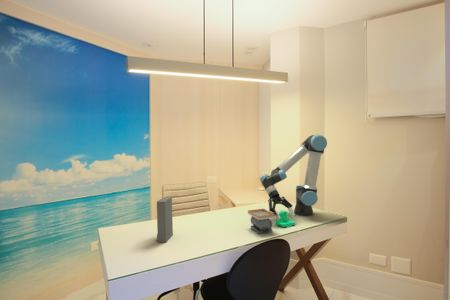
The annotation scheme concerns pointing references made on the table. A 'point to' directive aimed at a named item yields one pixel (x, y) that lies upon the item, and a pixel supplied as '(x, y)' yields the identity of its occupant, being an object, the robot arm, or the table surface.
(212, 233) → the table surface
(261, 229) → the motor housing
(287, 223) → the green piece
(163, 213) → the grey upright slab
